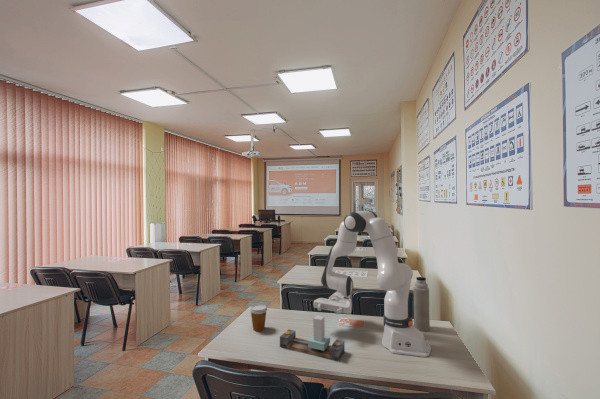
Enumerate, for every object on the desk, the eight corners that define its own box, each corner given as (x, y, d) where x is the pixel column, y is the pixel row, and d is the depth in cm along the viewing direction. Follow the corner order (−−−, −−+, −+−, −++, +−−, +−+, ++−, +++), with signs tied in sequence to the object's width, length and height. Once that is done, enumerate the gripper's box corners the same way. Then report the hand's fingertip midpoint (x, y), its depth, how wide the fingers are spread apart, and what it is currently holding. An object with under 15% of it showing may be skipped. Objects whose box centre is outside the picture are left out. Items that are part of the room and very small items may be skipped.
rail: (344, 351, 136) (344, 339, 136) (338, 361, 128) (338, 348, 128) (288, 338, 149) (288, 328, 149) (279, 346, 141) (279, 335, 141)
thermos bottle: (415, 324, 165) (414, 275, 166) (430, 327, 161) (429, 276, 162) (412, 329, 158) (412, 278, 159) (428, 332, 154) (427, 280, 155)
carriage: (330, 343, 138) (329, 315, 138) (323, 350, 131) (323, 322, 131) (314, 339, 142) (314, 313, 142) (308, 347, 135) (307, 319, 135)
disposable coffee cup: (262, 333, 155) (262, 311, 156) (247, 331, 158) (246, 309, 159) (270, 326, 164) (269, 305, 165) (255, 324, 167) (255, 303, 168)
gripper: (319, 293, 165) (309, 301, 152) (354, 299, 156) (346, 308, 143) (318, 304, 165) (308, 313, 152) (353, 311, 156) (346, 320, 143)
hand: (327, 310), depth 148 cm, fingers open, 8 cm apart
